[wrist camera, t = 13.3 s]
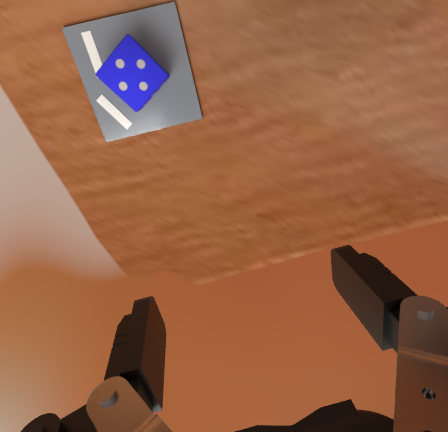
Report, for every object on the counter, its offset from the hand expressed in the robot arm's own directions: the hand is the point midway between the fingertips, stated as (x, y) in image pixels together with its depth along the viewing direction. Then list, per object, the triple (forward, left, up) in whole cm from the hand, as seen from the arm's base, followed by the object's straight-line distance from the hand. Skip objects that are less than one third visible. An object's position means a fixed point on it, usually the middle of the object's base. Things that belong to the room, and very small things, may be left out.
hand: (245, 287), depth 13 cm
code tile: (+5, -10, -28) cm, 30 cm away
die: (+5, -10, -28) cm, 30 cm away
